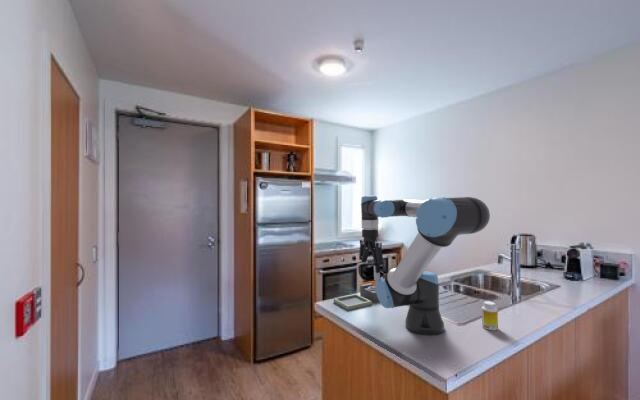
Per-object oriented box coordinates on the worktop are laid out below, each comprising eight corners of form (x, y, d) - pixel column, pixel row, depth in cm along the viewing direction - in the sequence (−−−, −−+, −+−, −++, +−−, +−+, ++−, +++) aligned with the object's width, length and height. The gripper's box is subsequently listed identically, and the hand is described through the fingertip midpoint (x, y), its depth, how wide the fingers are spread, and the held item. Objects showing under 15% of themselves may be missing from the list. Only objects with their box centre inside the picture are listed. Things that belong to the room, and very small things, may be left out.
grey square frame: (371, 305, 146) (371, 301, 146) (348, 310, 139) (347, 306, 139) (356, 297, 158) (356, 293, 158) (333, 302, 151) (333, 298, 151)
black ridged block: (377, 275, 139) (376, 261, 139) (384, 279, 132) (384, 264, 132) (358, 277, 136) (357, 263, 136) (364, 281, 129) (364, 266, 129)
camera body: (384, 300, 153) (384, 288, 153) (373, 302, 150) (373, 290, 150) (370, 294, 163) (370, 283, 163) (360, 296, 160) (360, 284, 160)
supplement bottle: (500, 331, 114) (500, 305, 114) (486, 330, 115) (485, 305, 115) (493, 325, 120) (493, 300, 120) (479, 324, 120) (479, 300, 120)
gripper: (391, 229, 127) (392, 281, 127) (363, 226, 145) (364, 271, 145) (377, 231, 124) (379, 284, 123) (350, 227, 142) (352, 273, 142)
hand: (371, 277), depth 134 cm, fingers closed on black ridged block, 8 cm apart
